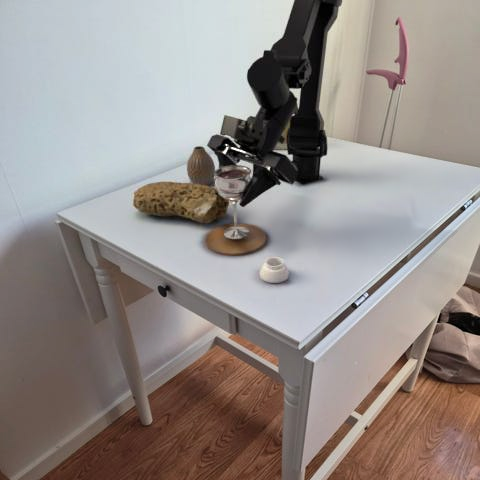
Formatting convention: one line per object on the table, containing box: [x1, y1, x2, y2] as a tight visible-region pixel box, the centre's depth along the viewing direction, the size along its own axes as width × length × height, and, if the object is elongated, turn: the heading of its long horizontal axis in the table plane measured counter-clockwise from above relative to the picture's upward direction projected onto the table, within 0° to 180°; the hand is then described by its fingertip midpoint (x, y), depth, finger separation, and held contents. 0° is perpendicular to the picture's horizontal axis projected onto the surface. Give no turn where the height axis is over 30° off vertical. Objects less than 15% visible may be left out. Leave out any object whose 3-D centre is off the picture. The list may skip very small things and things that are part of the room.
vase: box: [186, 145, 216, 186], centre depth 104 cm, size 7×7×9 cm
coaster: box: [204, 223, 267, 256], centre depth 83 cm, size 12×12×1 cm
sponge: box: [132, 181, 230, 224], centre depth 91 cm, size 13×8×20 cm
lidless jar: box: [259, 256, 290, 284], centre depth 72 cm, size 5×3×5 cm
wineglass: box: [214, 164, 252, 239], centre depth 79 cm, size 7×7×12 cm
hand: (228, 200), depth 77 cm, fingers closed on wineglass, 6 cm apart
